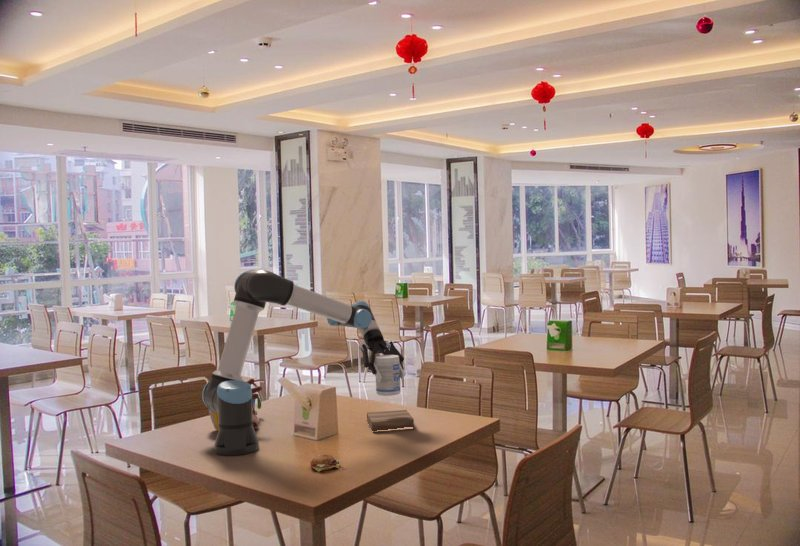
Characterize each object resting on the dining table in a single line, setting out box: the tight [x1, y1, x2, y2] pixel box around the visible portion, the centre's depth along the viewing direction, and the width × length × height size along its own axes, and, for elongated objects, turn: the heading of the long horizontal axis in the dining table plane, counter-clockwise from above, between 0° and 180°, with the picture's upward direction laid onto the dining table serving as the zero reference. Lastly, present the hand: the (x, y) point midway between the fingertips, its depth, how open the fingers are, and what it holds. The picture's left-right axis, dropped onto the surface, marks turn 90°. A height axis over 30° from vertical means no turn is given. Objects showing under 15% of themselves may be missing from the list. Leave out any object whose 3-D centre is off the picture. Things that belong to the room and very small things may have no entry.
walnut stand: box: [366, 409, 415, 432], centre depth 269 cm, size 16×16×4 cm
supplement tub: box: [374, 354, 401, 397], centre depth 269 cm, size 10×10×15 cm
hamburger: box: [310, 453, 348, 473], centre depth 219 cm, size 14×14×6 cm
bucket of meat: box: [207, 378, 263, 431], centre depth 271 cm, size 20×16×20 cm
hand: (391, 378), depth 266 cm, fingers closed on supplement tub, 9 cm apart
